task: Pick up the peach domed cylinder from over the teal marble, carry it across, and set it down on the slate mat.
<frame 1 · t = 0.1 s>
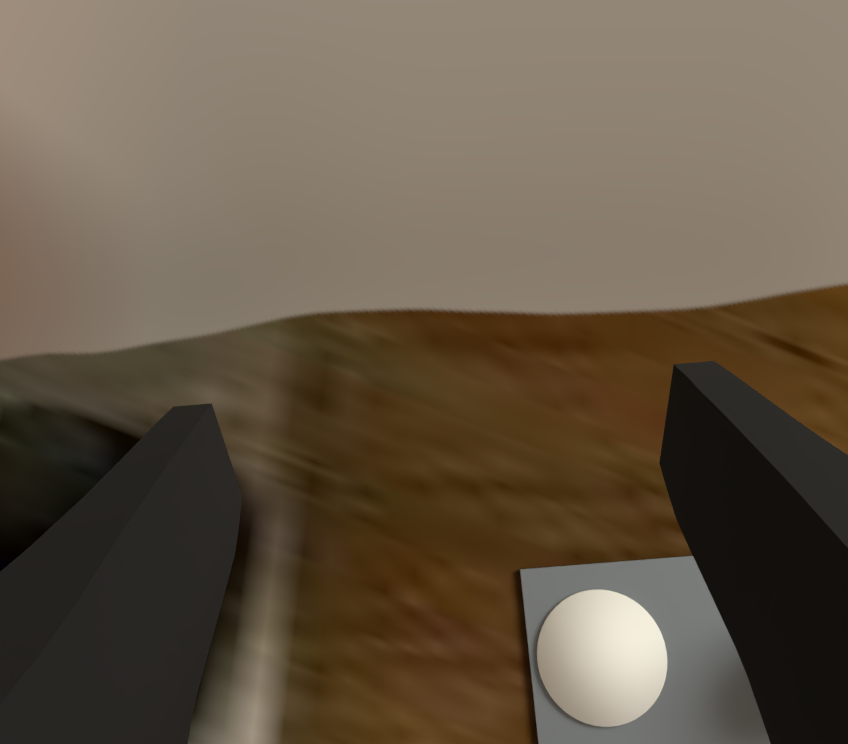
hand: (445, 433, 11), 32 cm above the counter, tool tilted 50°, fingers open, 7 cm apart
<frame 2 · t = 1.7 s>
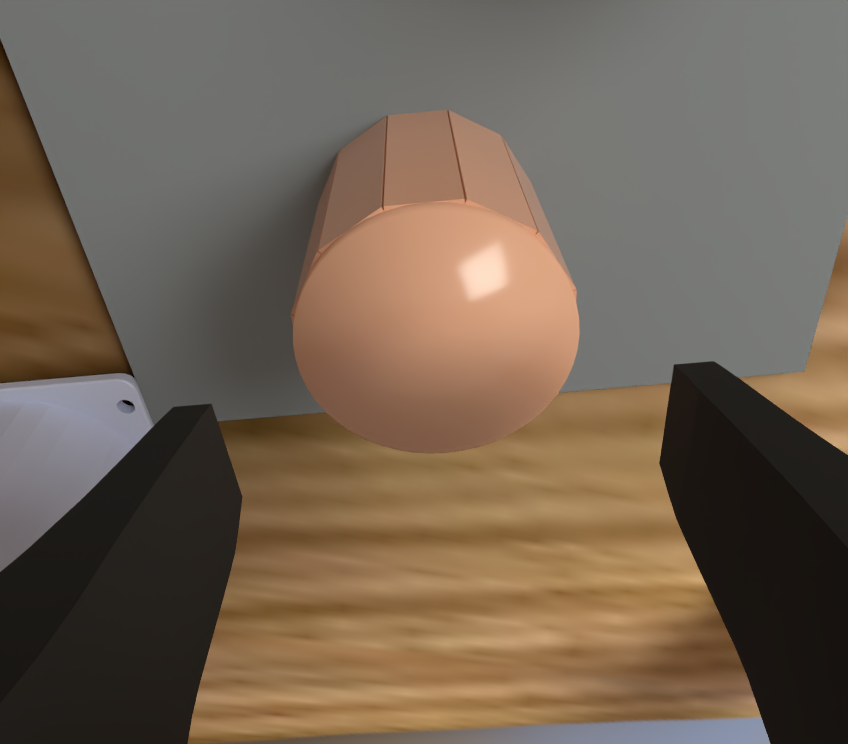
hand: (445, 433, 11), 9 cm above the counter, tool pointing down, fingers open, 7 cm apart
peach domed cylinder: (426, 219, 18), resting on slate mat
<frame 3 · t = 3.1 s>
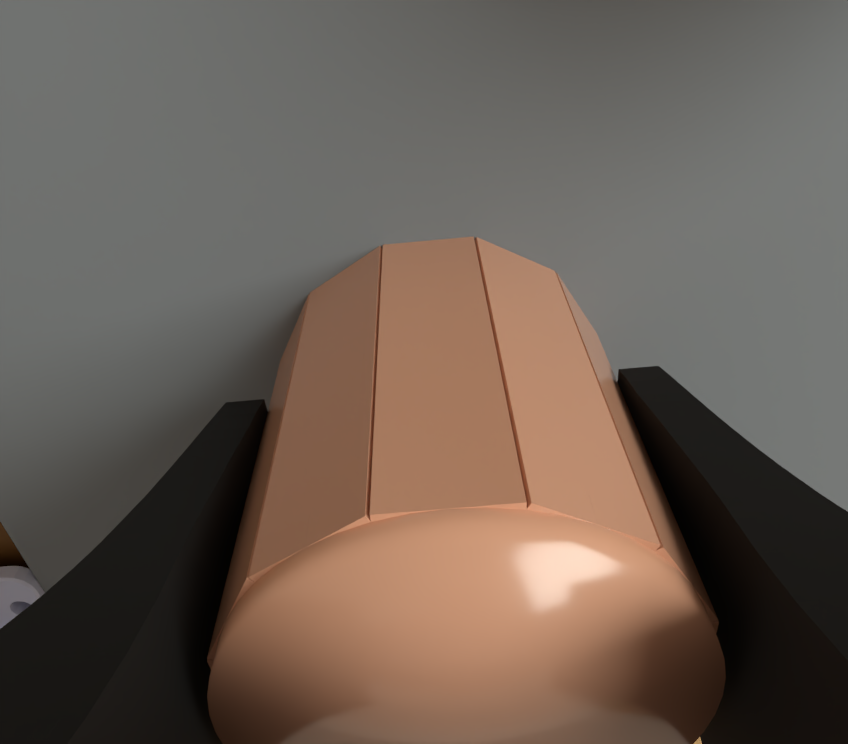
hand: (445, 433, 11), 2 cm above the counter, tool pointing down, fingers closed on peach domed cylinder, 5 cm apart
slate mat: (485, 69, 10), on the counter
peach domed cylinder: (440, 382, 12), resting on slate mat, touching gripper
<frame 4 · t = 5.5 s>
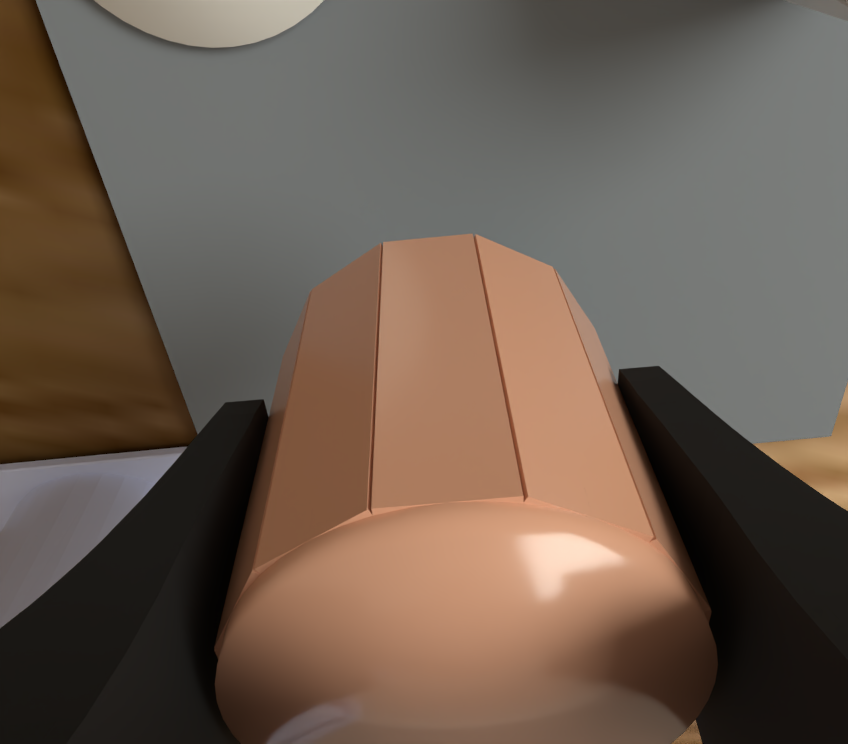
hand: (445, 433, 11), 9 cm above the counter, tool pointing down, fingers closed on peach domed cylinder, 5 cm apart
slate mat: (508, 119, 17), on the counter
peach domed cylinder: (440, 376, 13), point 7 cm above the counter, touching gripper
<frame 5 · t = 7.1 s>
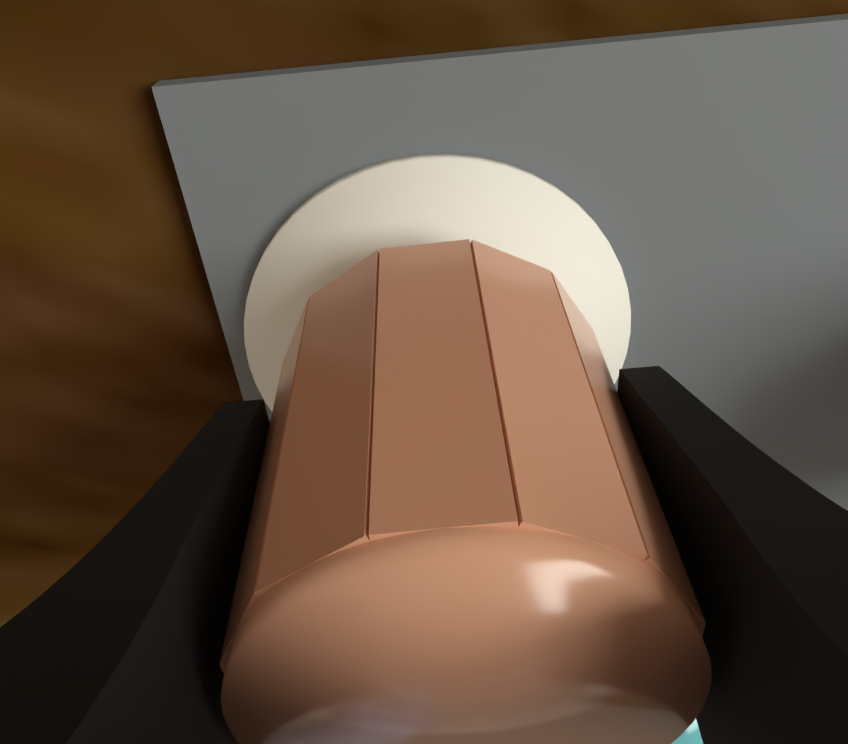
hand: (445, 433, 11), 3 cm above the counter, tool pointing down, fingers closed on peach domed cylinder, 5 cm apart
teal marble: (661, 706, 19), point 2 cm above the counter, touching slate mat
slate mat: (701, 517, 17), on the counter
peach domed cylinder: (440, 378, 13), point 2 cm above the counter, touching gripper
when the fingers open (3 cm above the counter, at t = 8.0 s): peach domed cylinder stays where it is, resting on slate mat.
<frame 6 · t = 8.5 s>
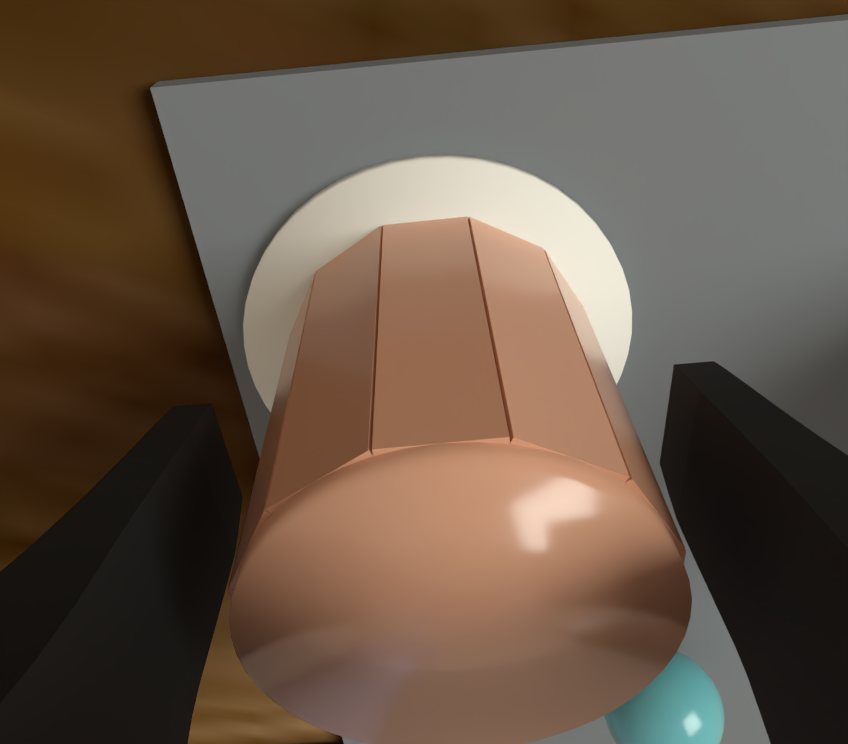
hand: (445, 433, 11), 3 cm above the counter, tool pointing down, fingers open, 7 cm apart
teal marble: (662, 709, 18), point 2 cm above the counter, touching slate mat
slate mat: (702, 519, 17), on the counter
peach domed cylinder: (438, 354, 13), point 1 cm above the counter, touching slate mat
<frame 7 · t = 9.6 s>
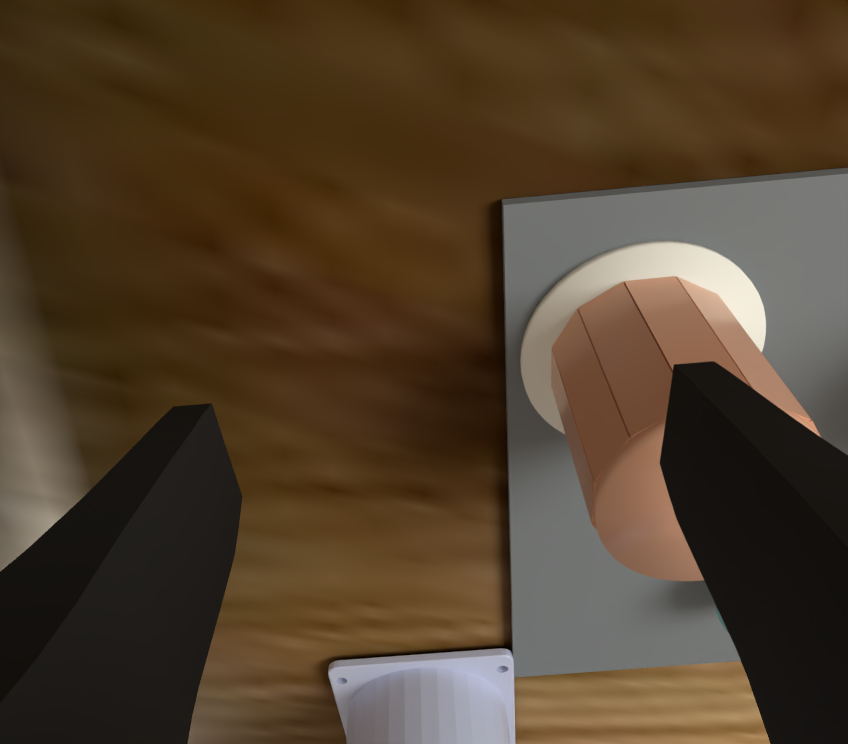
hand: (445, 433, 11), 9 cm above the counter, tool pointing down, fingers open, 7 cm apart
slate mat: (791, 470, 25), on the counter
peach domed cylinder: (641, 358, 21), point 1 cm above the counter, touching slate mat
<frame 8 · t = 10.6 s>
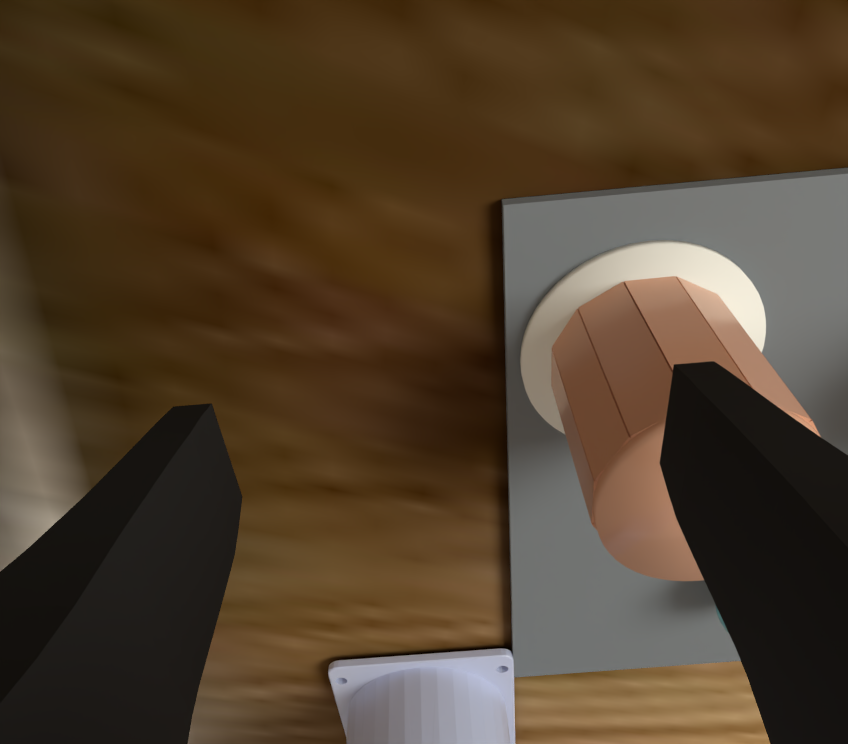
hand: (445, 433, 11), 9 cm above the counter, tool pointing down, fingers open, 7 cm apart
slate mat: (791, 470, 25), on the counter
peach domed cylinder: (641, 358, 21), point 1 cm above the counter, touching slate mat
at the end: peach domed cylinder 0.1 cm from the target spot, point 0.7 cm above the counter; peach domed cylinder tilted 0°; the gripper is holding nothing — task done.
